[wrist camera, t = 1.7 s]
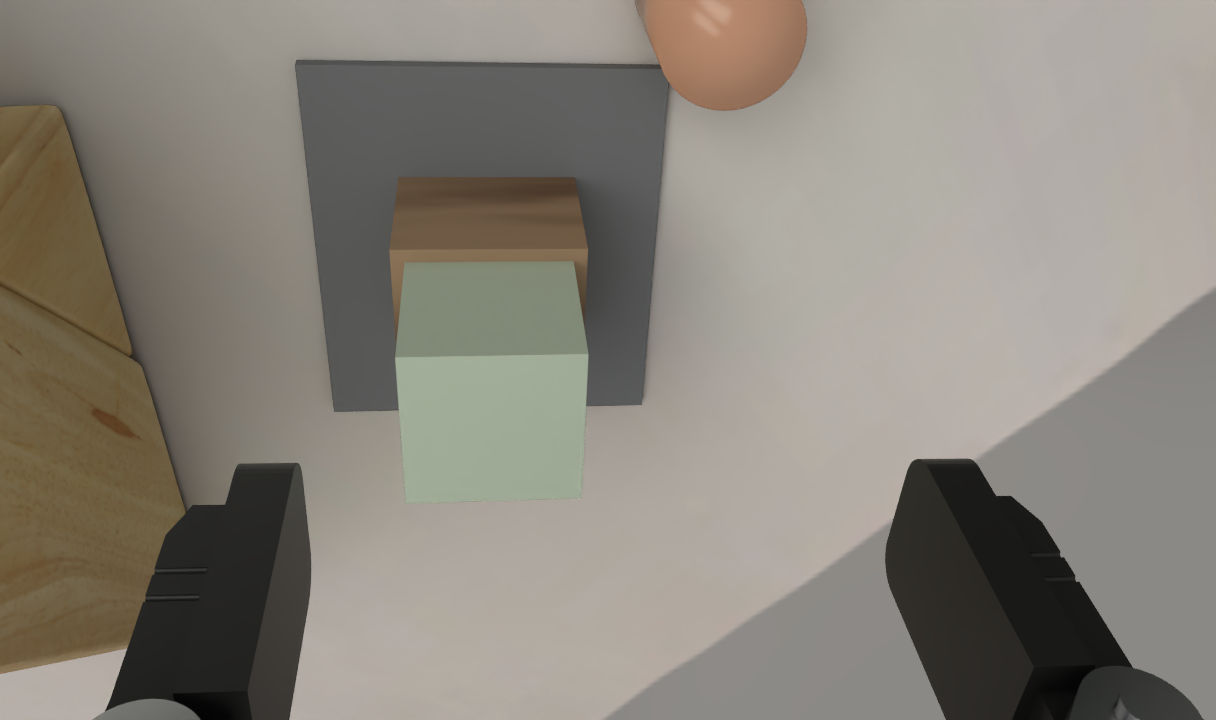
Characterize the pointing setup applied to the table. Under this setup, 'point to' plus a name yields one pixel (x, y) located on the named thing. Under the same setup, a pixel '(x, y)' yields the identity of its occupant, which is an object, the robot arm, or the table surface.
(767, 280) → the table surface
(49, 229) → the knife block
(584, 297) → the bottom block
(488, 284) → the top block
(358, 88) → the mat
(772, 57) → the tan rounded cylinder
